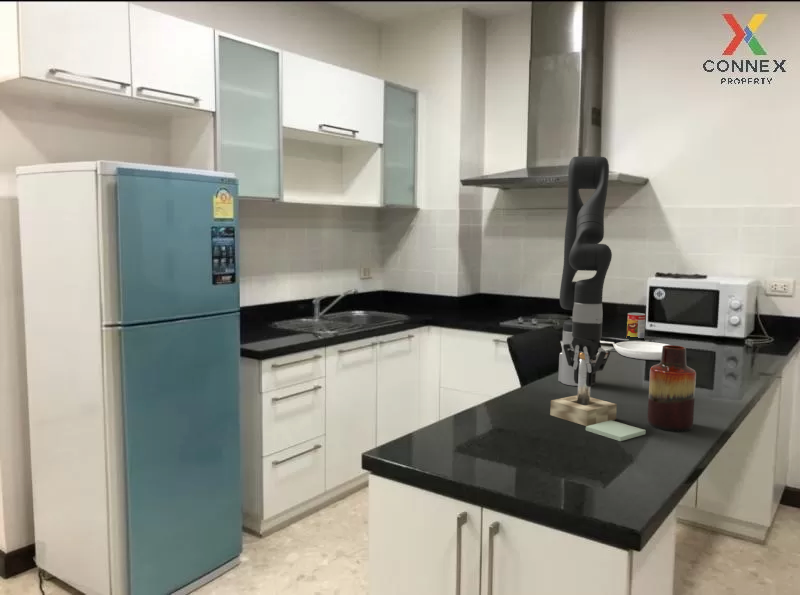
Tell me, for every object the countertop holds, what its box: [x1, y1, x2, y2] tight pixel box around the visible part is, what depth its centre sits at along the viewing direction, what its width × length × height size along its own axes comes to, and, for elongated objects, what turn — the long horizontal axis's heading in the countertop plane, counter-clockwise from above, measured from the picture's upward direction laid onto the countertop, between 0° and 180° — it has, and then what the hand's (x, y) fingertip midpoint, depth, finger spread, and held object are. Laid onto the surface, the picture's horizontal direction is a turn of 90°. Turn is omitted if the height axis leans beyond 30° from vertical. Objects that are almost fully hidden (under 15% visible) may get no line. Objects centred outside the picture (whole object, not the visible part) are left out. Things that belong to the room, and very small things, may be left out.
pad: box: [585, 420, 646, 442], centre depth 158 cm, size 10×10×1 cm
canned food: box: [626, 312, 647, 339], centre depth 303 cm, size 8×8×12 cm
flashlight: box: [576, 351, 592, 405], centre depth 170 cm, size 3×3×14 cm
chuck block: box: [549, 394, 618, 427], centre depth 171 cm, size 12×12×4 cm
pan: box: [600, 340, 669, 361], centre depth 264 cm, size 25×39×4 cm, turn 60°
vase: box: [646, 344, 697, 432], centre depth 164 cm, size 11×11×20 cm
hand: (584, 384), depth 170 cm, fingers closed on flashlight, 3 cm apart
